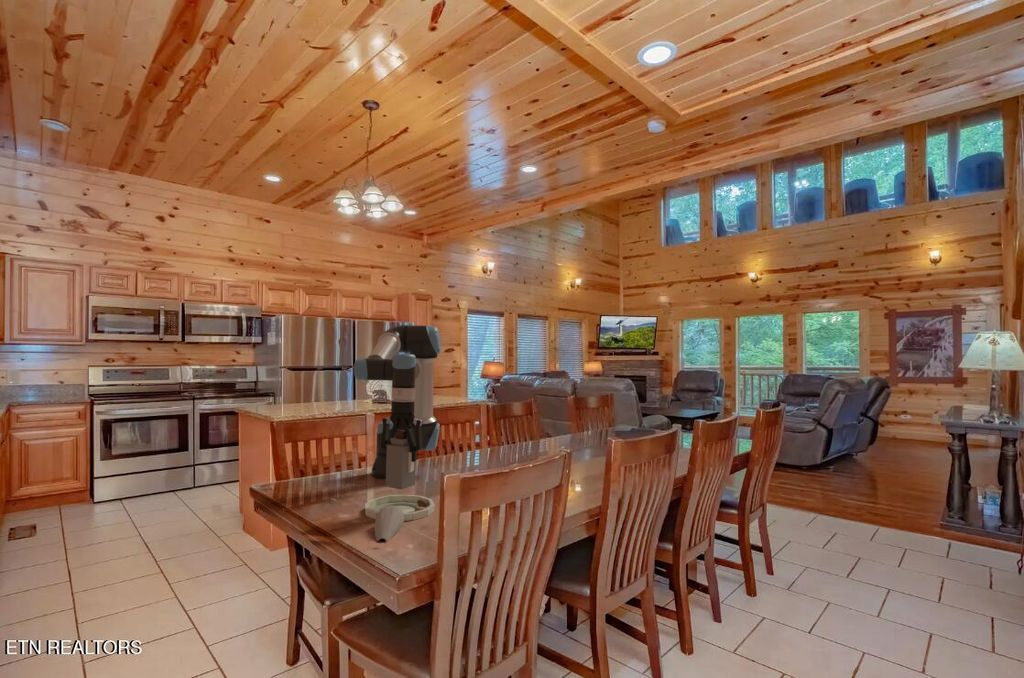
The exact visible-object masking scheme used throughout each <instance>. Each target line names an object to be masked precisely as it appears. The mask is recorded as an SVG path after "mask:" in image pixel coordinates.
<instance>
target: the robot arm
mask: <svg viewBox="0 0 1024 678" xmlns="http://www.w3.org/2000/svg"><path fill="white" fill-rule="evenodd" d="M376 343H377V344H376V345H375V347H374V348H373V349H372V351H371V352H370V354H369V355H368V356H367V357H366V358H365V357H363V358H357V359H356V360H355V362H354V365H353V374H354V377H355V379H357V380H361V381H390V382H392V383H391V400H392V401H391V405H390V406H391V409H390V410H391V411H390V412H391V413H390V414H391V415H390V416H389V417H384V418H381V421H380V422H378V424H377V426H376V427H377V428H376V446H375V447H376V450H375V452H376V454H375V459H374V462H373V464H372V468H371V476H372V477H373V478H378V479H379V478H380V479H386V456H387V445H389V444H390V445H391V440H390V438H394V437H395V431H398V430H405V432H406V434H407V438H408V441H409V445H410V449H411V451H410V452H409V463H408V472H412V471H414V462H415V461H416V462H417V460H418V459H417V458H418V456H417V455H418V451H424V452H426V451H434V450H435V449H436V448H437V445H438V441H439V435H440V426H441V424H440V423H439V422H437V418H436V417H435V416H434V369H435V367H434V366H435V364H434V362H435V361H436V359H438V355H439V354H441V353H442V347H441V346H442V345H441V344H442V341H441V335H440V331H439V328H438V327H436V326H434V325H408V324H405V325H404V324H401V325H396V326H393V327H390V328H388V329H387V330H385V331H384V332H382V333H381V334H380V336H378V338H377V342H376Z"/></svg>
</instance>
